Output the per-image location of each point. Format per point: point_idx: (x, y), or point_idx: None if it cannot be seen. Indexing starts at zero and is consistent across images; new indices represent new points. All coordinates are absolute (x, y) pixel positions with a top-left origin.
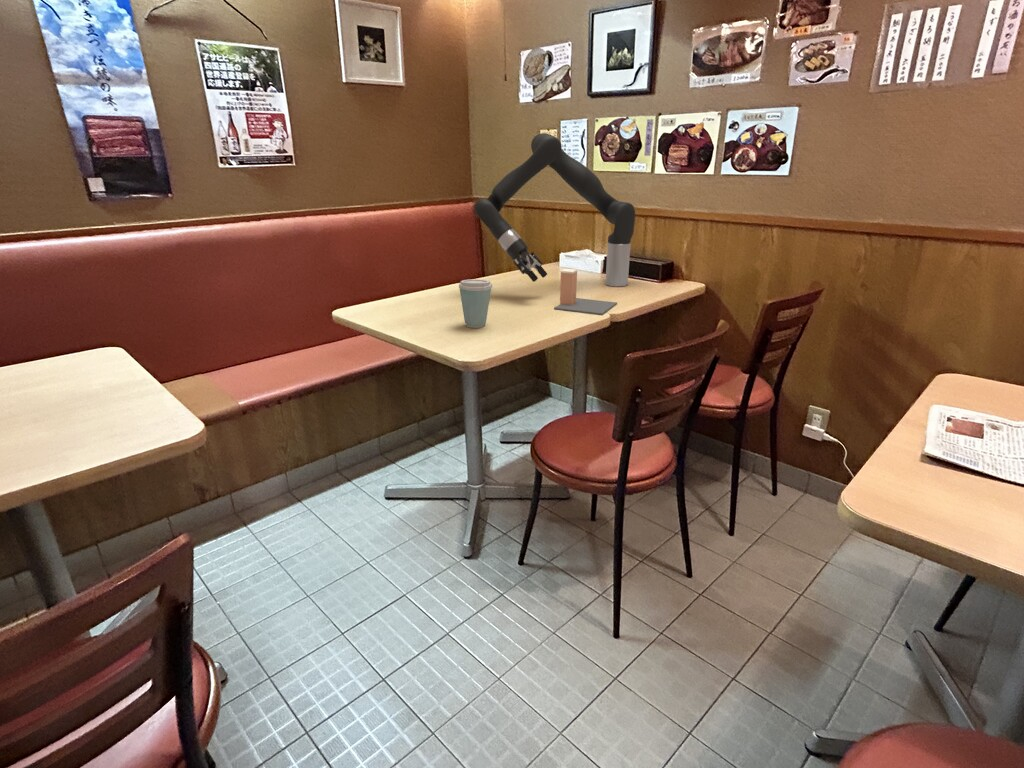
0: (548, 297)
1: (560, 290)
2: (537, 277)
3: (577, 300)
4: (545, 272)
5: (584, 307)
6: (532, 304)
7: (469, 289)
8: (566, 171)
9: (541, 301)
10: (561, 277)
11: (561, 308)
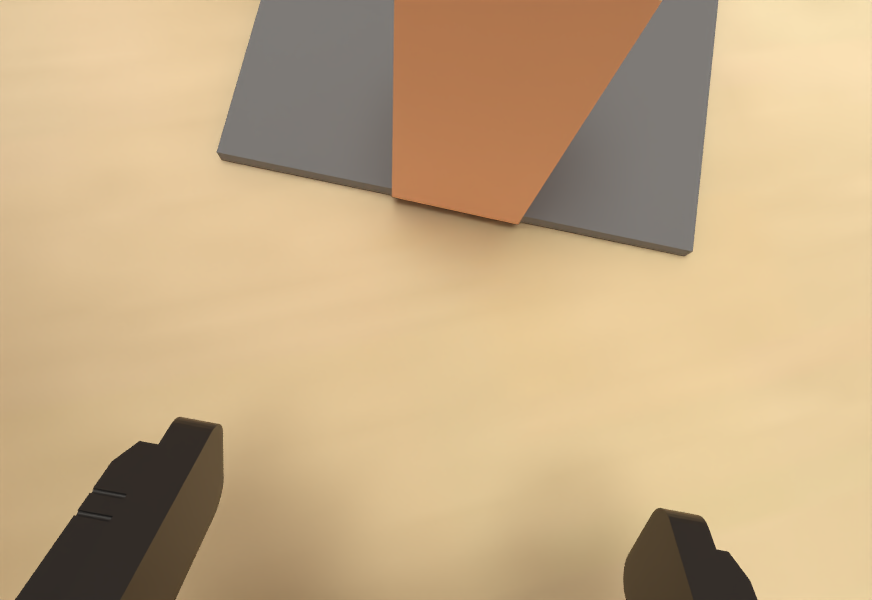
0: (196, 417)
1: (556, 163)
2: (682, 517)
3: (341, 77)
4: (198, 451)
5: None
6: (561, 523)
7: None
8: None
9: (403, 454)
10: (623, 47)
11: (693, 179)
